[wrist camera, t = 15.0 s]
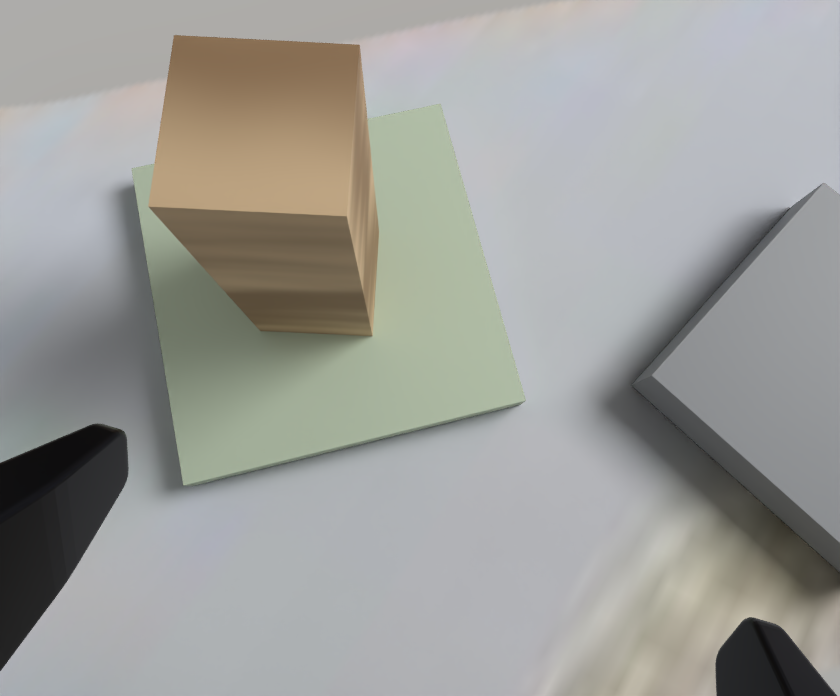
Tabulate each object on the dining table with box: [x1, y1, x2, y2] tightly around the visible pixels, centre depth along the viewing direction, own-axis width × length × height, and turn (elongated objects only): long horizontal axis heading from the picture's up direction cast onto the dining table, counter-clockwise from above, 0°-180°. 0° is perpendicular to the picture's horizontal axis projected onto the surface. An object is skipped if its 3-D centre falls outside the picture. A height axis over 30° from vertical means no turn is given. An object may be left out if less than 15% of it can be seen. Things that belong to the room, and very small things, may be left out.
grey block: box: [632, 183, 840, 572], centre depth 23 cm, size 10×10×2 cm
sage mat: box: [132, 104, 526, 486], centre depth 23 cm, size 12×12×1 cm
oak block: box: [148, 35, 379, 336], centre depth 18 cm, size 4×4×10 cm
